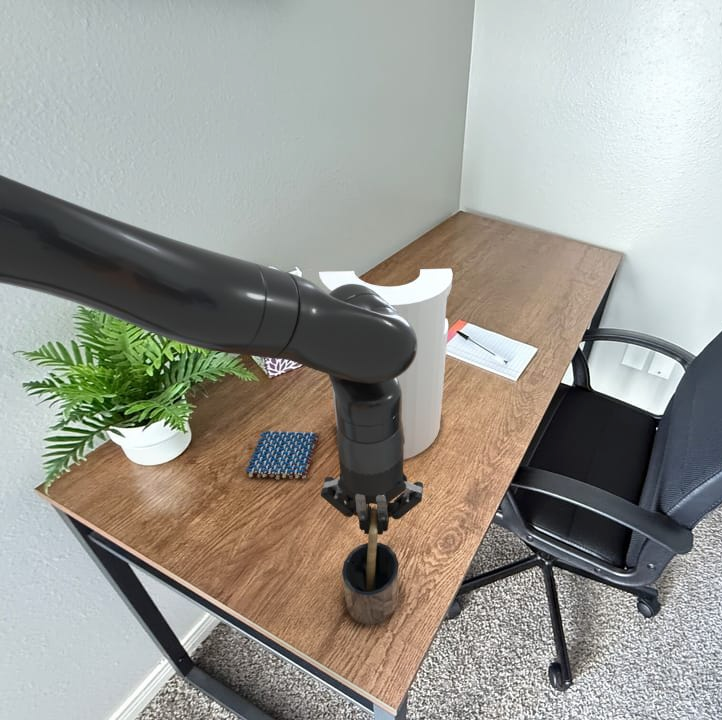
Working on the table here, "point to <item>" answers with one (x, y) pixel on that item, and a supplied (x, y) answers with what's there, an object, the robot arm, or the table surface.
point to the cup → (386, 584)
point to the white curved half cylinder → (426, 373)
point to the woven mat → (283, 454)
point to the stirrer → (371, 551)
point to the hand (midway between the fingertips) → (374, 528)
